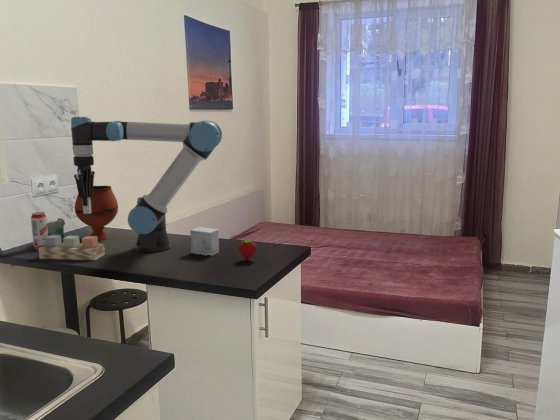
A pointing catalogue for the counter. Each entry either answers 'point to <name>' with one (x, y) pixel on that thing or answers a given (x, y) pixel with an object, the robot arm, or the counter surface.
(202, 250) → the skincare box
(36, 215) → the beer can
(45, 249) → the button panel
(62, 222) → the food container
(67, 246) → the sage-green button
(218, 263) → the counter surface
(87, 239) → the terracotta button
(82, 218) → the goblet
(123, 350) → the counter surface
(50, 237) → the light blue block
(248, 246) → the strawberry
